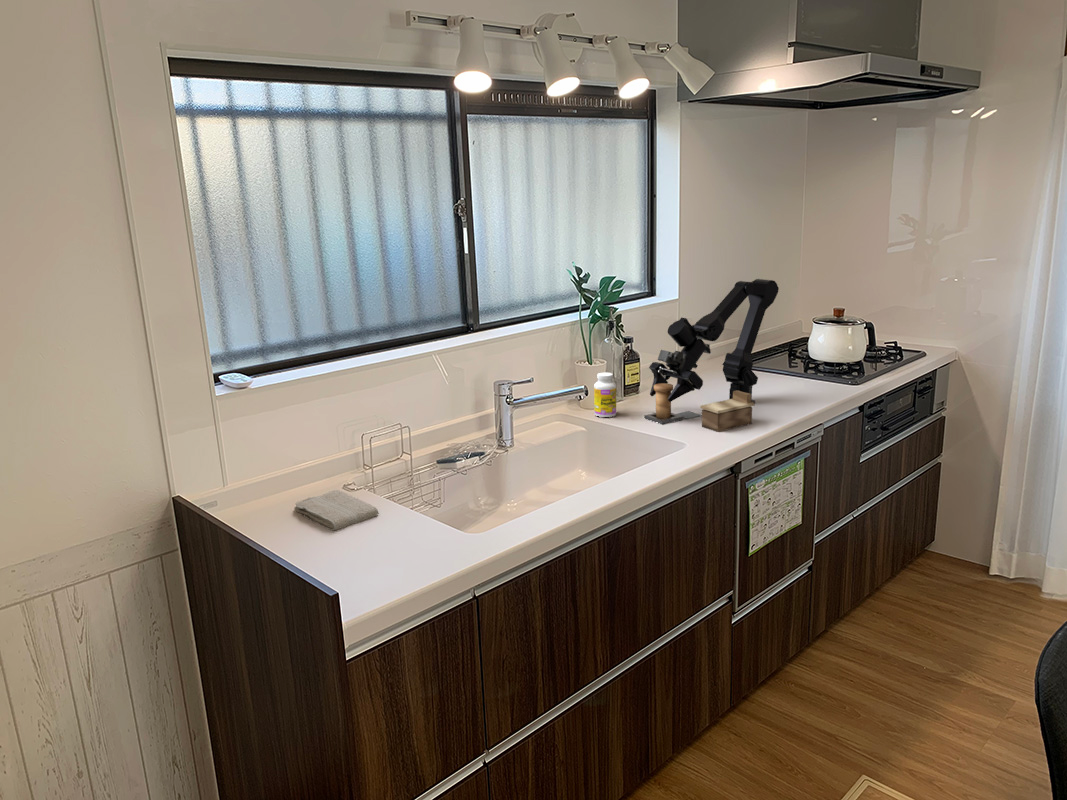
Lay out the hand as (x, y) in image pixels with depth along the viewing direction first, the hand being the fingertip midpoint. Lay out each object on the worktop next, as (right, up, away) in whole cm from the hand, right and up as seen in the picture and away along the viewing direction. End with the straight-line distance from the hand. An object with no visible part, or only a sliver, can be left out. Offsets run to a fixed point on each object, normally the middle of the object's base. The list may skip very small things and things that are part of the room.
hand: (659, 398), depth 243 cm
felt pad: (+9, -5, +5) cm, 12 cm away
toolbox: (+18, -8, -6) cm, 21 cm away
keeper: (+1, -6, +2) cm, 7 cm away
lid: (+18, -2, -8) cm, 20 cm away
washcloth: (-81, -26, -60) cm, 104 cm away
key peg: (+1, -6, +2) cm, 7 cm away
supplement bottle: (-15, -5, +9) cm, 18 cm away
